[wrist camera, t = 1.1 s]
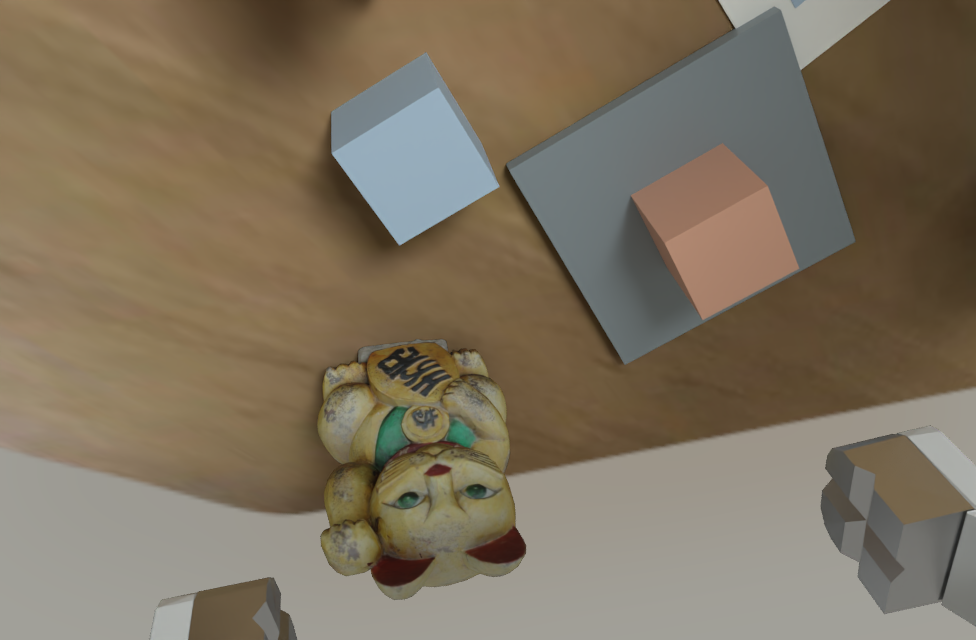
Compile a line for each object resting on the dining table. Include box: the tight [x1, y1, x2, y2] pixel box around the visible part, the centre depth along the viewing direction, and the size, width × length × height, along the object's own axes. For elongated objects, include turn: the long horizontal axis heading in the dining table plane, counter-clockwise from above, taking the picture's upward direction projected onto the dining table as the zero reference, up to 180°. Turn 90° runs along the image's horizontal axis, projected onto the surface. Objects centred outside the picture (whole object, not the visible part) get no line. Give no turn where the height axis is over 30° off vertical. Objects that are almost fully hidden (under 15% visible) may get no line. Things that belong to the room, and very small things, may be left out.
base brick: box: [631, 143, 799, 320], centre depth 40 cm, size 5×5×5 cm
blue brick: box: [331, 53, 499, 245], centre depth 36 cm, size 5×5×5 cm
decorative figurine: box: [317, 339, 526, 600], centre depth 40 cm, size 10×8×15 cm
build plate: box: [506, 7, 856, 365], centre depth 42 cm, size 14×14×1 cm
